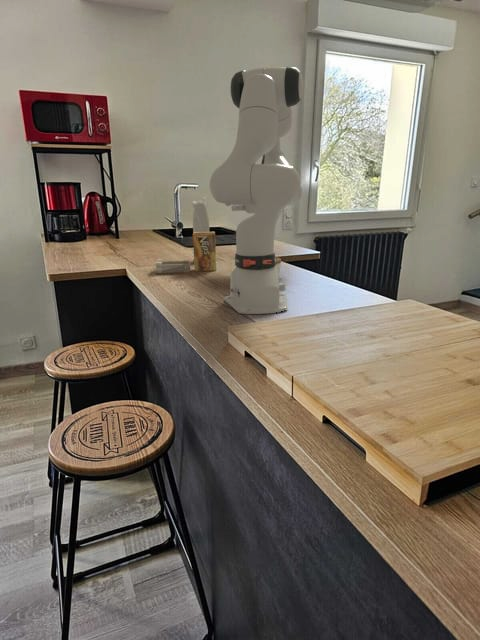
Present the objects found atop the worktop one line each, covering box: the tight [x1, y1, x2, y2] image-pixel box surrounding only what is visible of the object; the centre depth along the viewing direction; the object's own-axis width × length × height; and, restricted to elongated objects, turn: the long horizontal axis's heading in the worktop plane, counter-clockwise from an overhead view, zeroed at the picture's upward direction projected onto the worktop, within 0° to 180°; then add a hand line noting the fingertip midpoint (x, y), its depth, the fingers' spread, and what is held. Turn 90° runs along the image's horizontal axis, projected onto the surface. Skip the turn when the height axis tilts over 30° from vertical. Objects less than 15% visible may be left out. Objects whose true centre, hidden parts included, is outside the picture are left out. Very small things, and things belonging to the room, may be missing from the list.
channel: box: [155, 258, 191, 276], centre depth 171 cm, size 10×13×4 cm
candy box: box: [192, 231, 217, 272], centre depth 171 cm, size 9×4×15 cm, turn 92°
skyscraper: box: [191, 196, 210, 261], centre depth 189 cm, size 8×8×28 cm
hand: (228, 206), depth 165 cm, fingers open, 8 cm apart
